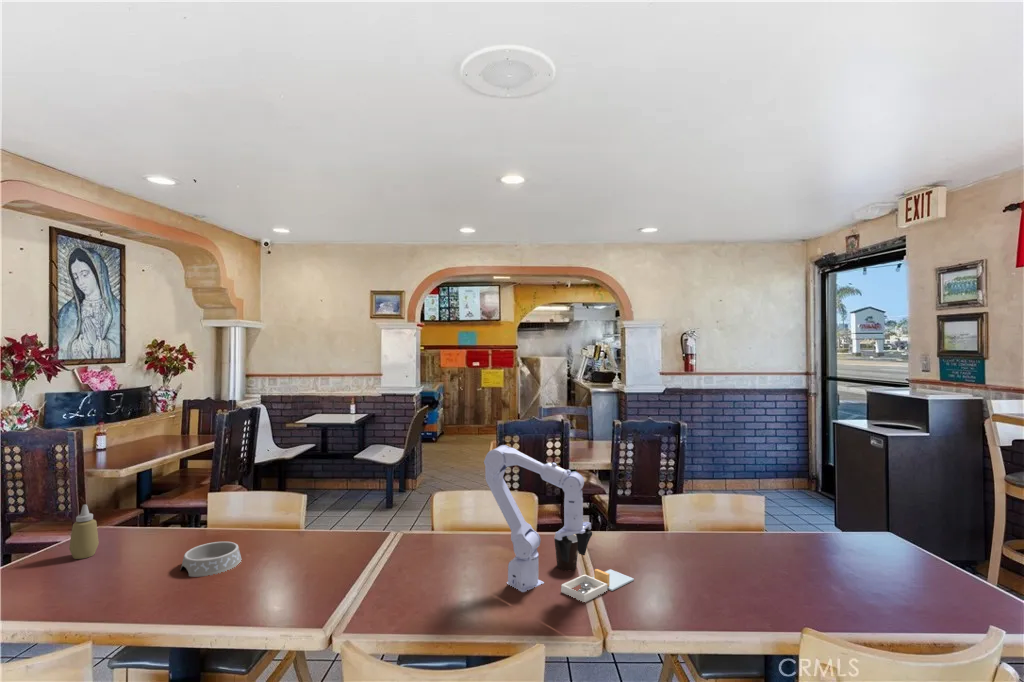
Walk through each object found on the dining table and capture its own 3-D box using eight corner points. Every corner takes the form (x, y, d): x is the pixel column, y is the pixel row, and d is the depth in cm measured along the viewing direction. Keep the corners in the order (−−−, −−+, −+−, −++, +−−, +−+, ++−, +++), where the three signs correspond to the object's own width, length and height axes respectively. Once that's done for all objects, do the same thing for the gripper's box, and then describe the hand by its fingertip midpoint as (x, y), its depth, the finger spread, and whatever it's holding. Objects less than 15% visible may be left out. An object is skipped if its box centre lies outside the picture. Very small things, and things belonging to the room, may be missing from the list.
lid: (612, 593, 159) (612, 577, 159) (588, 583, 166) (588, 567, 166) (634, 582, 167) (634, 567, 167) (610, 573, 174) (610, 558, 174)
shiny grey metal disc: (581, 598, 155) (581, 594, 155) (575, 593, 157) (575, 590, 157) (590, 595, 156) (590, 592, 156) (583, 591, 159) (583, 588, 159)
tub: (584, 604, 152) (584, 595, 152) (561, 593, 158) (561, 584, 159) (607, 592, 159) (607, 584, 159) (584, 582, 166) (584, 574, 166)
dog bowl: (196, 582, 164) (196, 565, 165) (172, 567, 175) (172, 551, 175) (250, 564, 178) (250, 548, 178) (224, 551, 189) (224, 536, 189)
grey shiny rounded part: (592, 589, 160) (592, 586, 160) (581, 589, 160) (581, 586, 160) (589, 585, 163) (589, 581, 163) (579, 584, 163) (579, 581, 163)
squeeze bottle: (85, 561, 179) (86, 508, 179) (62, 560, 179) (63, 508, 179) (104, 551, 187) (105, 501, 187) (82, 551, 187) (83, 501, 187)
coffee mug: (571, 575, 171) (571, 545, 171) (549, 568, 176) (549, 539, 176) (588, 563, 180) (588, 534, 180) (566, 557, 185) (567, 529, 185)
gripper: (567, 521, 152) (567, 568, 152) (598, 511, 162) (598, 555, 162) (550, 516, 157) (550, 561, 157) (581, 506, 167) (581, 548, 167)
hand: (573, 557), depth 160 cm, fingers open, 7 cm apart
